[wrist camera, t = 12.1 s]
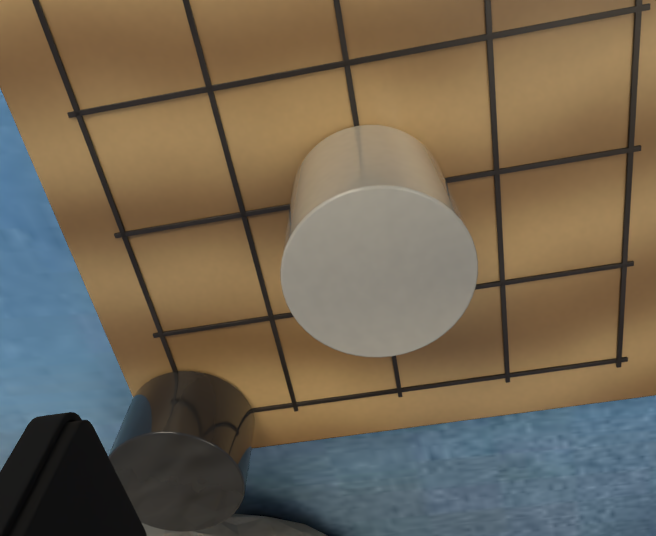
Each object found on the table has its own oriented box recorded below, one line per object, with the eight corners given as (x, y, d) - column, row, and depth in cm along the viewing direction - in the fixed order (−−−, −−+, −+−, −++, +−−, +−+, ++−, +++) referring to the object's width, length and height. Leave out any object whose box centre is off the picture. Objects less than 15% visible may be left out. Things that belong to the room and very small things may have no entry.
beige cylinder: (277, 138, 18) (259, 205, 14) (437, 110, 18) (471, 169, 14) (308, 276, 21) (301, 370, 16) (451, 254, 20) (484, 344, 16)
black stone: (112, 379, 23) (81, 442, 20) (238, 361, 22) (224, 423, 20) (152, 471, 25) (130, 539, 22) (267, 456, 25) (259, 524, 22)
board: (-53, -104, 17) (-88, -108, 15) (709, -276, 15) (748, -297, 14) (168, 434, 26) (159, 463, 25) (652, 369, 24) (672, 396, 23)
